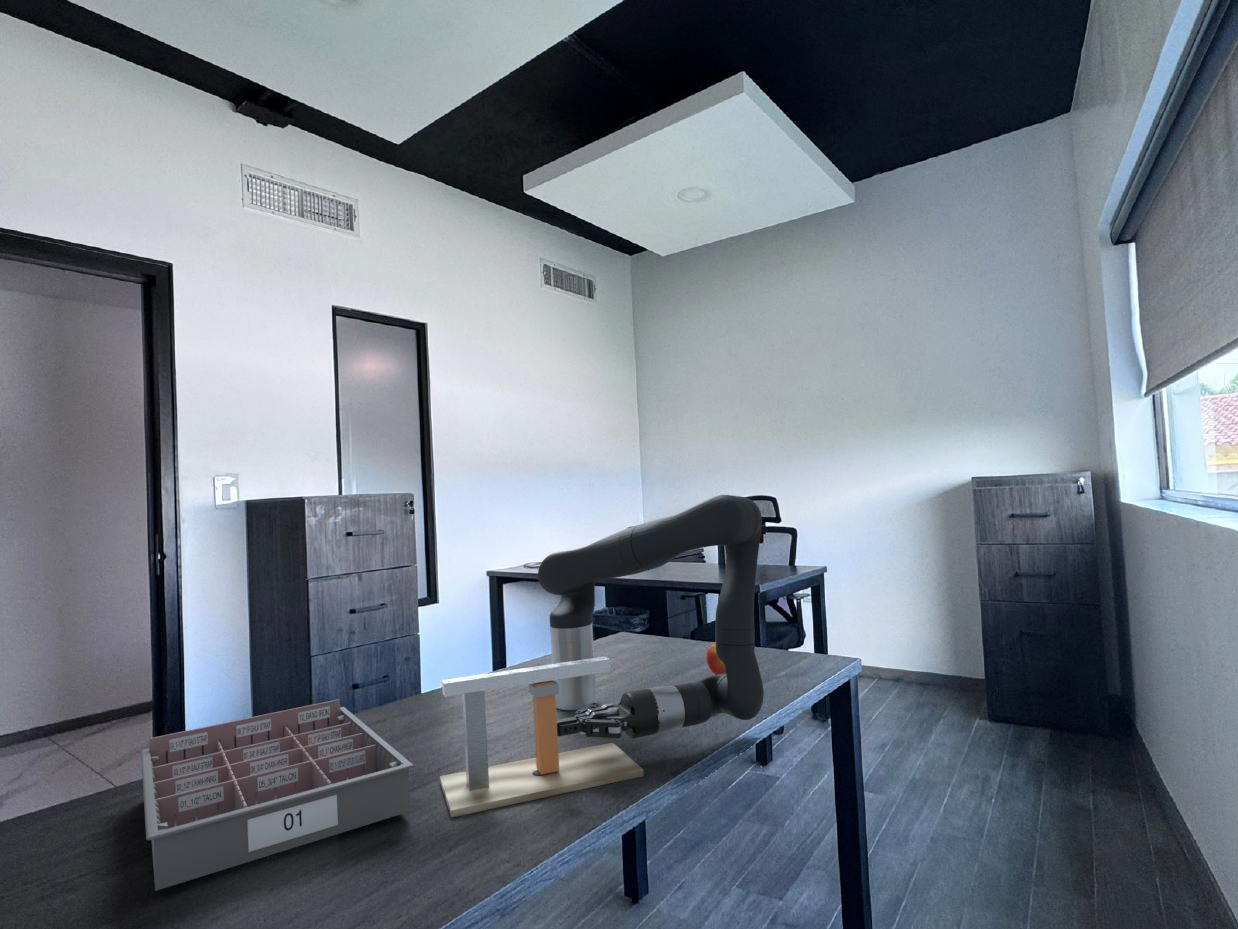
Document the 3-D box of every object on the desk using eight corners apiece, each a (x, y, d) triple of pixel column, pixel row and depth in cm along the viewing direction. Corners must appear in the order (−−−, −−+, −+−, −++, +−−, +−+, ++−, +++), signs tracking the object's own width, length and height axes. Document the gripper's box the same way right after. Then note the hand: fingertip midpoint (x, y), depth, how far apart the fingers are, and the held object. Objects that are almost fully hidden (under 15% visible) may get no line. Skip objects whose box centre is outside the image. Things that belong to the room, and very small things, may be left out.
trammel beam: (447, 788, 109) (441, 679, 109) (610, 755, 118) (604, 656, 119) (449, 795, 106) (444, 684, 106) (616, 761, 115) (610, 659, 116)
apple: (744, 680, 163) (741, 637, 164) (710, 682, 163) (707, 639, 164) (739, 671, 171) (736, 630, 172) (706, 673, 171) (703, 632, 172)
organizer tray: (148, 908, 82) (145, 822, 82) (142, 799, 114) (140, 737, 115) (417, 821, 100) (414, 751, 101) (346, 749, 133) (344, 696, 133)
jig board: (440, 782, 113) (439, 775, 113) (613, 748, 124) (612, 742, 124) (451, 817, 100) (450, 810, 100) (643, 776, 111) (643, 769, 111)
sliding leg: (532, 767, 114) (528, 680, 115) (556, 763, 115) (551, 677, 116) (538, 776, 110) (534, 686, 111) (563, 771, 112) (558, 682, 112)
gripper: (636, 680, 126) (542, 695, 120) (667, 698, 114) (564, 716, 108) (638, 722, 126) (545, 740, 120) (670, 745, 113) (567, 766, 107)
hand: (554, 728), depth 114 cm, fingers closed
